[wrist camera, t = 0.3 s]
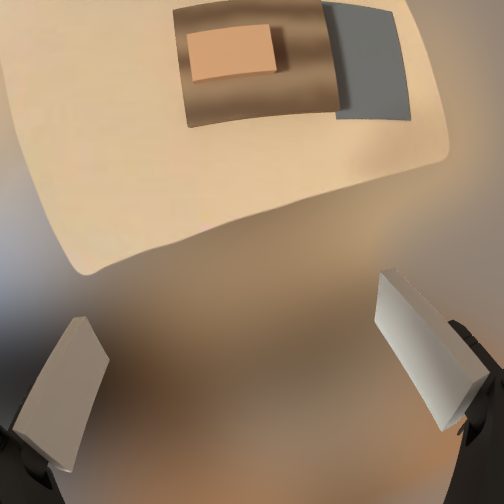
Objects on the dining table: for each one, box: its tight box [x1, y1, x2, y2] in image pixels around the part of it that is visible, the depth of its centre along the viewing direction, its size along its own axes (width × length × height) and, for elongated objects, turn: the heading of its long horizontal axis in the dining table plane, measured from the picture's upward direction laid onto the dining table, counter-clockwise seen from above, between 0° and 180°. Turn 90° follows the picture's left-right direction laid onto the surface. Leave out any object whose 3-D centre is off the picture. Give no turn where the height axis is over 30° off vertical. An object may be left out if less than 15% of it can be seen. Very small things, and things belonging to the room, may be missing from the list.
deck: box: [173, 0, 340, 128], centre depth 28 cm, size 16×18×3 cm
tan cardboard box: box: [187, 24, 277, 84], centre depth 25 cm, size 6×9×2 cm, turn 98°
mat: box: [321, 1, 411, 121], centre depth 29 cm, size 18×12×1 cm, turn 8°
